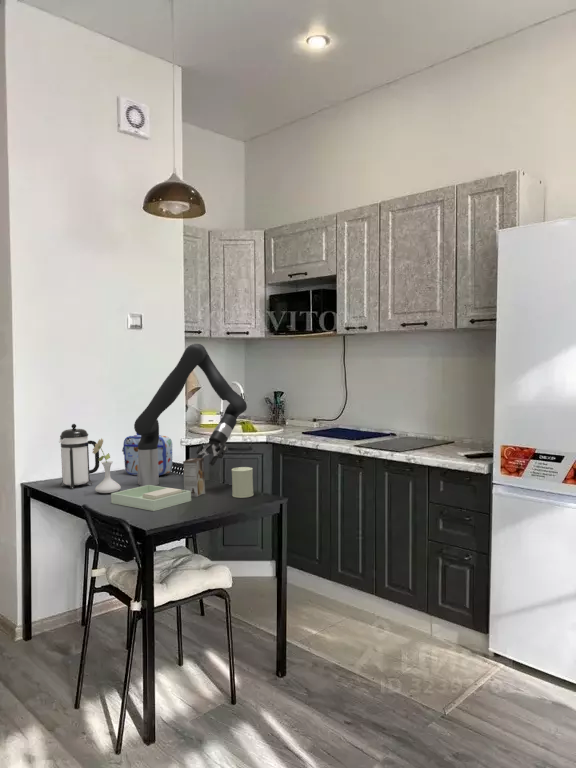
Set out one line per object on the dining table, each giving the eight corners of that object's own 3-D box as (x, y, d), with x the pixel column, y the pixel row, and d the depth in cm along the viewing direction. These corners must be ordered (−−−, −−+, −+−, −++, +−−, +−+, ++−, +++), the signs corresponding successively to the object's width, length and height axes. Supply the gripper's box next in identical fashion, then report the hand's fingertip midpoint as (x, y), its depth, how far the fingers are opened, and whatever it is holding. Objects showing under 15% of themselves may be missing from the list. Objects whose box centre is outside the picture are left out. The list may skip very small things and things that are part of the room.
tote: (111, 505, 257) (111, 493, 257) (149, 496, 273) (148, 484, 273) (153, 513, 241) (153, 500, 241) (191, 503, 257) (190, 491, 257)
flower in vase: (108, 488, 291) (105, 435, 290) (126, 490, 286) (124, 436, 285) (86, 494, 280) (84, 439, 279) (105, 496, 274) (103, 440, 273)
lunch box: (119, 475, 325) (118, 433, 324) (131, 471, 335) (130, 430, 334) (164, 477, 315) (162, 434, 314) (175, 474, 324) (174, 432, 323)
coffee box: (191, 493, 275) (190, 457, 275) (205, 494, 274) (204, 457, 273) (184, 498, 266) (182, 461, 266) (198, 498, 265) (197, 461, 264)
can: (233, 493, 274) (232, 466, 274) (254, 492, 274) (253, 465, 273) (230, 498, 265) (230, 469, 264) (252, 497, 265) (251, 469, 264)
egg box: (142, 506, 250) (142, 493, 249) (169, 499, 261) (168, 487, 261) (156, 508, 245) (155, 496, 245) (182, 501, 256) (182, 489, 256)
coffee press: (88, 488, 292) (86, 425, 291) (54, 489, 292) (52, 425, 291) (100, 481, 309) (98, 421, 308) (68, 482, 310) (66, 422, 308)
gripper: (205, 429, 285) (187, 457, 276) (228, 430, 277) (211, 460, 268) (213, 439, 290) (196, 467, 281) (236, 441, 281) (220, 470, 272)
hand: (203, 464), depth 274 cm, fingers open, 8 cm apart
